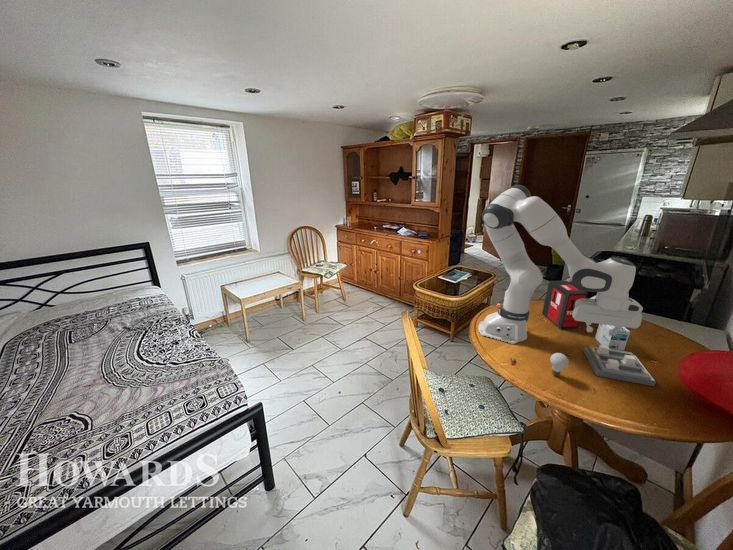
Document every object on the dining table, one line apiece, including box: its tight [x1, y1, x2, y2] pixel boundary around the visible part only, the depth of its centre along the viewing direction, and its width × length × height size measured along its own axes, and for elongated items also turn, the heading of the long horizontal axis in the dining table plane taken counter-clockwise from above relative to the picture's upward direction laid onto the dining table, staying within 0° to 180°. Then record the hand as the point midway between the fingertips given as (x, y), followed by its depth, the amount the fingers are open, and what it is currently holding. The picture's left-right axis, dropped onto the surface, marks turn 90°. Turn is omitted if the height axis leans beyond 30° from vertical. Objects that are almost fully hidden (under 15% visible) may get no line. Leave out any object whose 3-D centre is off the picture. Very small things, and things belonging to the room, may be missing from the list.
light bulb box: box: [594, 324, 631, 351], centre depth 130 cm, size 11×7×11 cm, turn 168°
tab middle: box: [620, 355, 636, 366], centre depth 115 cm, size 4×3×4 cm
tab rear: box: [596, 344, 610, 355], centre depth 122 cm, size 4×3×4 cm
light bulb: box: [549, 352, 569, 377], centre depth 112 cm, size 6×6×10 cm
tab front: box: [604, 359, 619, 370], centre depth 113 cm, size 4×3×4 cm
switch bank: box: [583, 345, 657, 387], centre depth 117 cm, size 18×17×3 cm
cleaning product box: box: [541, 280, 589, 331], centre depth 149 cm, size 16×9×20 cm, turn 179°
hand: (600, 333), depth 111 cm, fingers open, 6 cm apart
